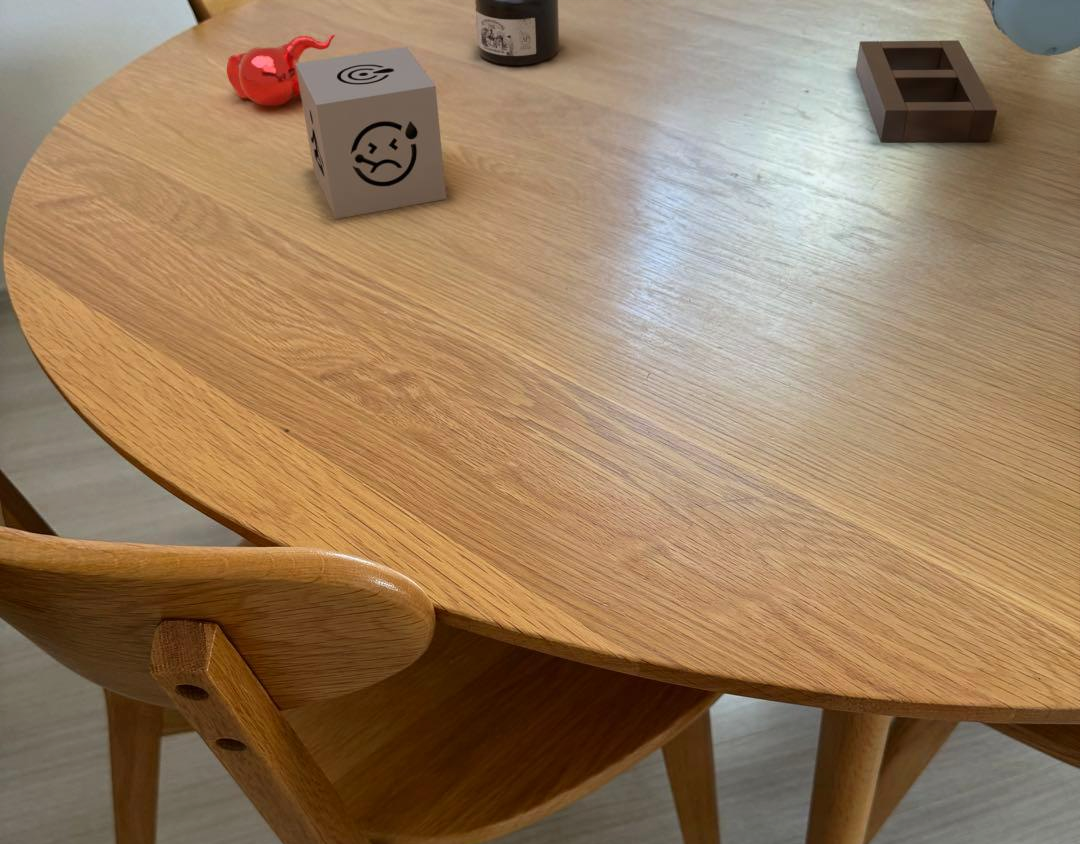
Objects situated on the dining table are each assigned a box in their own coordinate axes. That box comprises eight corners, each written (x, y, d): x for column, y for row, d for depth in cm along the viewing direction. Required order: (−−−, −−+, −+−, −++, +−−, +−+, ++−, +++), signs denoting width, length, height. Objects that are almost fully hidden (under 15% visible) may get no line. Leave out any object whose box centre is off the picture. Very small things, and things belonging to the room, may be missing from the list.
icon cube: (418, 154, 110) (406, 46, 103) (446, 198, 103) (435, 85, 96) (314, 172, 108) (295, 63, 101) (335, 219, 100) (316, 105, 94)
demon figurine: (217, 41, 119) (332, 19, 120) (235, 101, 123) (346, 79, 124) (216, 65, 113) (336, 41, 114) (234, 126, 117) (351, 103, 118)
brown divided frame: (952, 69, 121) (959, 40, 119) (990, 142, 107) (997, 110, 105) (855, 70, 121) (859, 41, 119) (880, 142, 108) (885, 110, 106)
